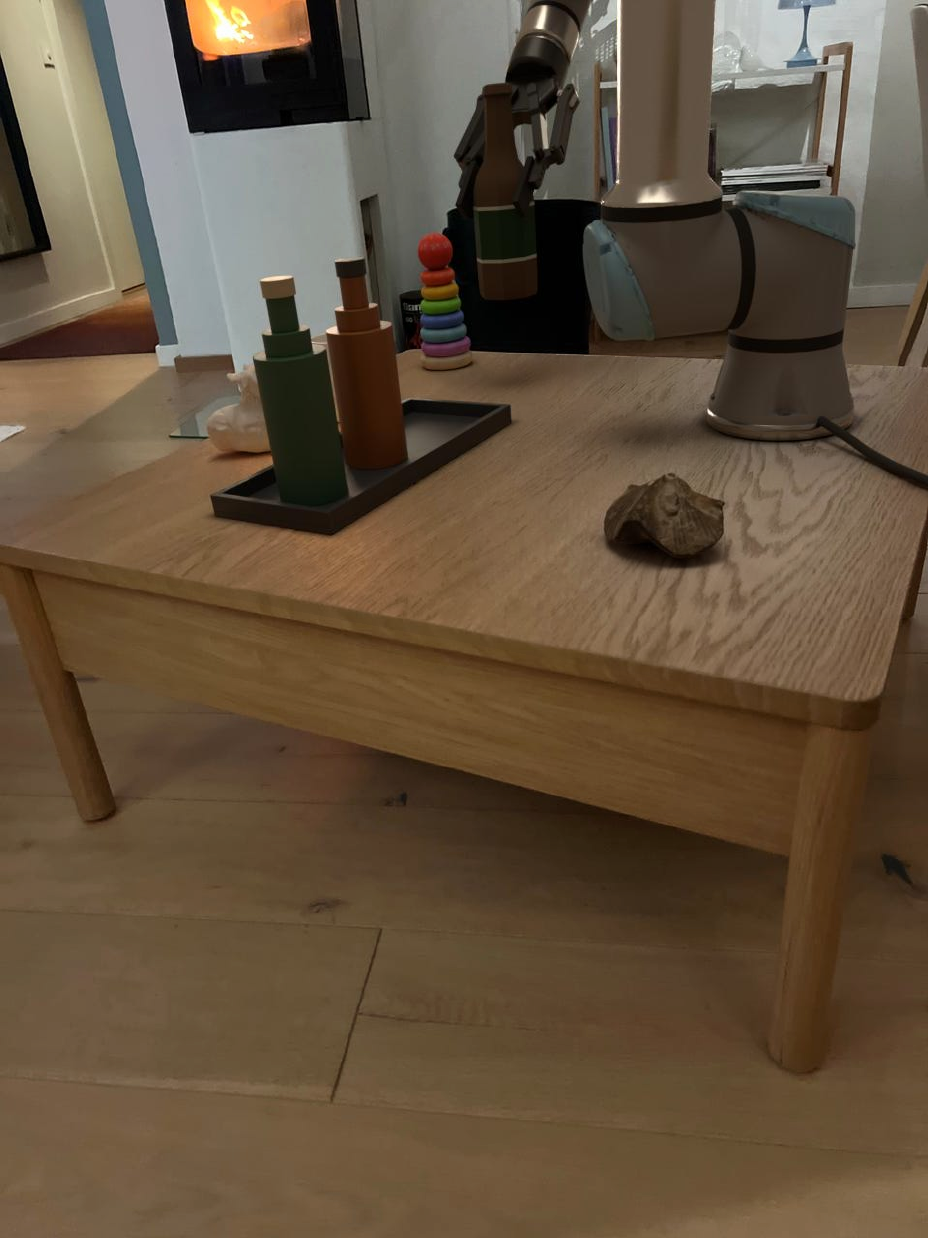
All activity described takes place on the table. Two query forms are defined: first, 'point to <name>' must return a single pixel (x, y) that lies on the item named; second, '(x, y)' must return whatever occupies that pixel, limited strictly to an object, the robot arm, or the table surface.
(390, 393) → the bottle mid
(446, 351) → the stacking toy
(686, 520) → the fossilized seashell
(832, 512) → the table surface
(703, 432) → the table surface
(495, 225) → the beer bottle
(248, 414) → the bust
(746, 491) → the table surface
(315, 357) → the bottle far
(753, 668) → the table surface
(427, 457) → the tray
